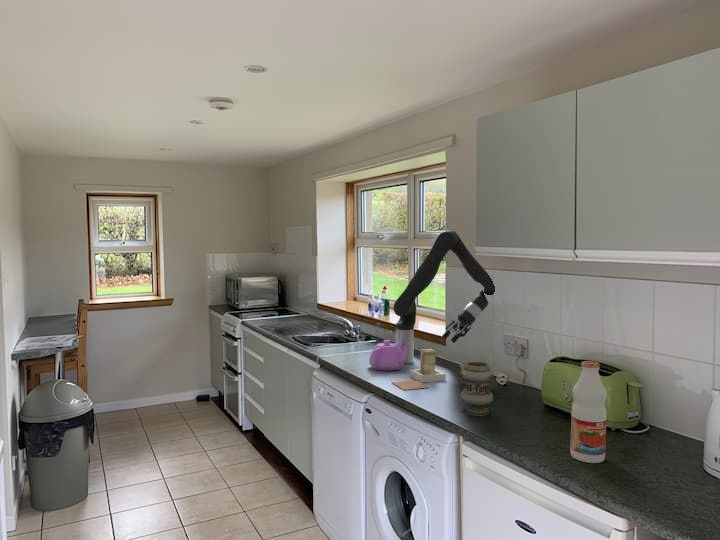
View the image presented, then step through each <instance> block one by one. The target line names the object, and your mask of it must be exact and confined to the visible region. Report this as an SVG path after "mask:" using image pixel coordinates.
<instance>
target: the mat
mask: <svg viewBox="0 0 720 540" xmlns="http://www.w3.org/2000/svg"><path fill="white" fill-rule="evenodd" d="M392 383H393V384H392ZM391 384H392V385H394V386H395V385H396V386H395V387H397V386H398V387H397V388H398V389H400V388H401V389H400V390H402V389H403V390H404V391H408V390H407V389H415V390H422V389H421V388H425V389H430V387H429V386H428V385H426V384H425V383H421V382H420V381H418V380H416V379H414V380H403V381H402V380H400V381H393V382H391ZM403 390H402V391H403Z"/></svg>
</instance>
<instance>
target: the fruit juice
mask: <svg viewBox="0 0 720 540" xmlns="http://www.w3.org/2000/svg"><path fill="white" fill-rule="evenodd" d="M580 366H581V373H580V375H579V377H578V381H576V382H575V384H574V386H573V388H572V396H573V403H572V406H571V412H570V416H571V419H570V420H571V422H570V423H571V424H570V455H571V457H572V458H573V459H575V460H577V461H580V462H584V463H589V464H599V463H602V462H604V461H605V459H606V442H607V440H606V439H607V418H608V417H607V409H606V406H605V404H606V401H607V397H608V395H607V393H608V392H607V389H606V387H605V386H604V384H603V382H602V379H601V376H600V373H599V370H600V366H601V365H600V363H599V362H598V361H593V360H592V361H591V360H584V361H581V365H580Z"/></svg>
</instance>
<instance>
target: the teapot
mask: <svg viewBox="0 0 720 540" xmlns="http://www.w3.org/2000/svg"><path fill="white" fill-rule="evenodd" d="M408 346H409V345H405V346H404V347H403V349H402V352H401V350H400V347H399V345H398V344H397V343H396V342H394V343H392V342H391V340H388V339H383V342H380V343H379V342H378V343H377V344H375V346H374V348H373V349H372V351H371V353H370V356H369V358H368V359H369V361H368V362H369V365H370V366H371V367H372V369H375V370H379V371H386V372H391V371H397V370H399V369H401V368H402V367H403V366H404V364H405V363H404V362H405V360H406V357H407V354H406V350H407V347H408Z"/></svg>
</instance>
